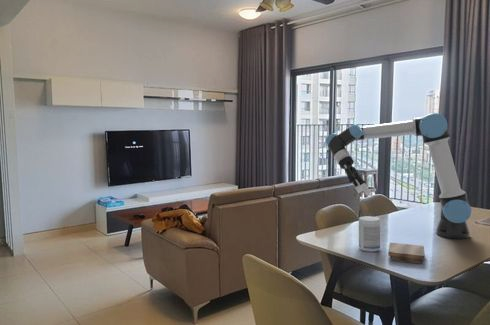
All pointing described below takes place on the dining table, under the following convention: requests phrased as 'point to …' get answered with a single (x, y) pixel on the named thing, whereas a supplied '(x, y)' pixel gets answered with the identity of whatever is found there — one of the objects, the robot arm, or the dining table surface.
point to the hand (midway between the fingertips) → (365, 193)
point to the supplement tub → (369, 233)
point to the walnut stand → (406, 252)
